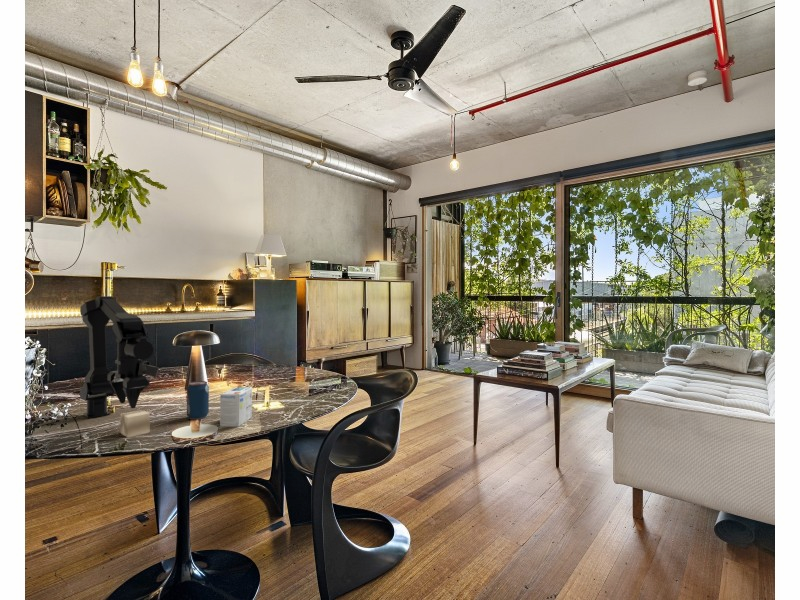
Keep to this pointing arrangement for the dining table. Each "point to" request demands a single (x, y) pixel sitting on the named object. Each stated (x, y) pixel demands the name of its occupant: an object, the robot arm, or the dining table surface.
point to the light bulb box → (235, 406)
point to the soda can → (197, 400)
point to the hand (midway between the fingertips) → (127, 405)
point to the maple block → (135, 423)
